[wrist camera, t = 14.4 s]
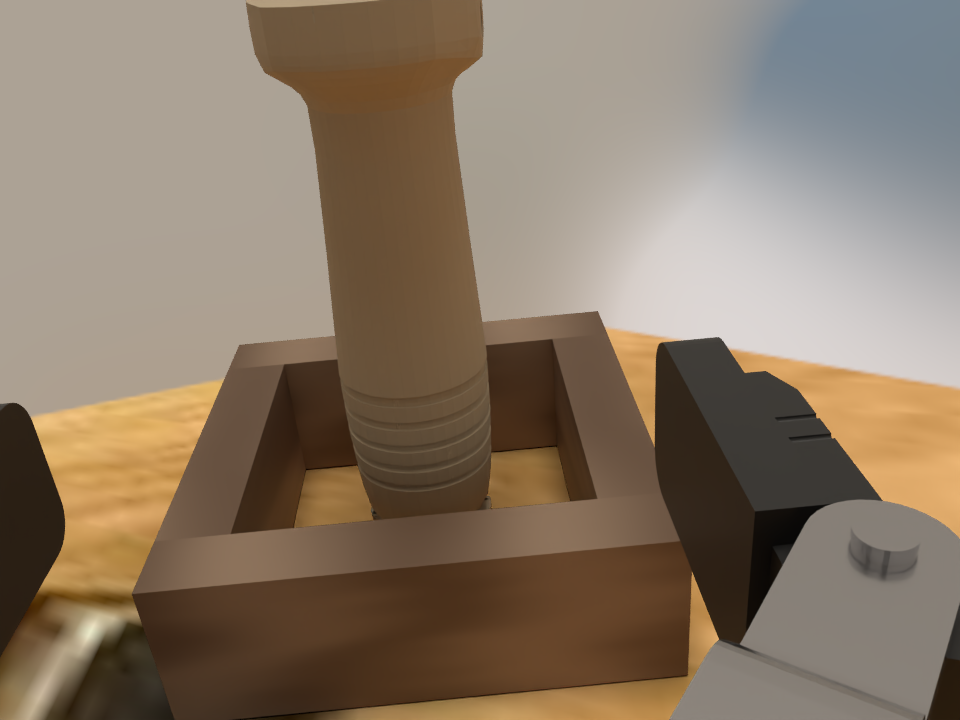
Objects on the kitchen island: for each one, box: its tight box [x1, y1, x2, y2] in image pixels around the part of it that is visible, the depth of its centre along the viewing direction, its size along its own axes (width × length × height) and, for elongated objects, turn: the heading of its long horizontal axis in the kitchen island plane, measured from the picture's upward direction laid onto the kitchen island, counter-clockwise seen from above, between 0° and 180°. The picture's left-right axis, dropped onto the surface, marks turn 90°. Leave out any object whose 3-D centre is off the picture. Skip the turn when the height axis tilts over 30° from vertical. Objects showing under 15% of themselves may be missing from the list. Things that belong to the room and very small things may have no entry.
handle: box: [246, 0, 491, 520], centre depth 22 cm, size 5×6×15 cm
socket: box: [132, 311, 692, 720], centre depth 25 cm, size 12×12×4 cm
